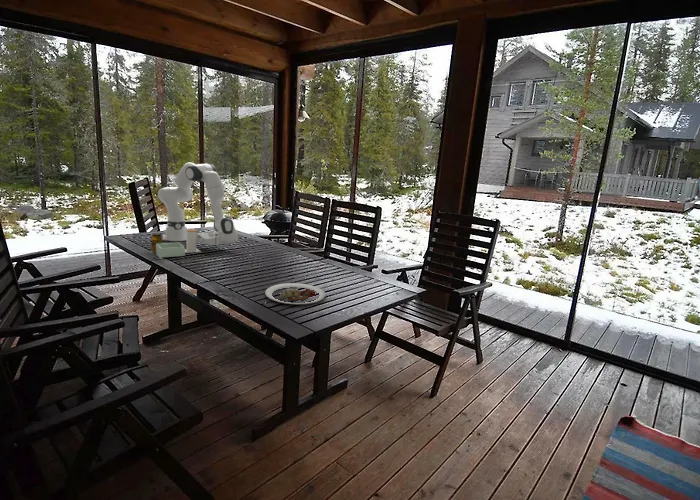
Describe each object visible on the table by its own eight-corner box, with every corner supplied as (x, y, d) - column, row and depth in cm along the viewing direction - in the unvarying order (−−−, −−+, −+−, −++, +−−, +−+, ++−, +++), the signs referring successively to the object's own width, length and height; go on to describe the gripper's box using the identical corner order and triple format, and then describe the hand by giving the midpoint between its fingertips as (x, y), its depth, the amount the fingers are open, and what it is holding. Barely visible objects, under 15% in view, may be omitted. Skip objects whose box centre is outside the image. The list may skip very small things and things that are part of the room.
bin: (156, 254, 247) (155, 243, 246) (179, 252, 256) (179, 242, 254) (160, 259, 236) (160, 248, 235) (184, 257, 245) (184, 247, 243)
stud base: (181, 251, 259) (181, 240, 257) (197, 250, 265) (197, 239, 263) (185, 255, 251) (185, 243, 250) (201, 253, 257) (201, 242, 255)
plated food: (253, 292, 196) (253, 286, 195) (301, 283, 217) (301, 277, 216) (288, 312, 175) (288, 305, 174) (337, 299, 196) (337, 293, 195)
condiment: (148, 252, 251) (148, 233, 248) (159, 249, 259) (158, 232, 256) (157, 253, 249) (157, 235, 246) (167, 251, 256) (167, 233, 254)
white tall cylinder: (186, 249, 258) (186, 229, 255) (194, 249, 261) (194, 228, 258) (188, 251, 254) (188, 230, 251) (196, 251, 257) (196, 230, 254)
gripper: (209, 230, 272) (189, 231, 264) (219, 236, 257) (197, 237, 248) (209, 239, 274) (189, 240, 266) (219, 245, 258) (197, 246, 250)
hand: (193, 238), depth 257 cm, fingers open, 8 cm apart
